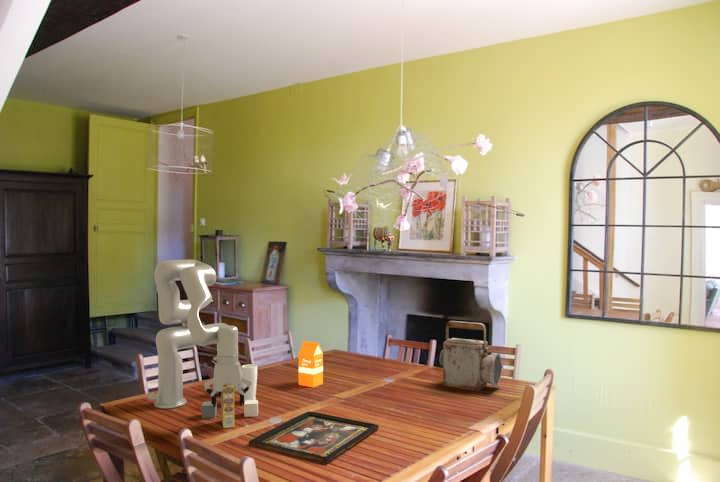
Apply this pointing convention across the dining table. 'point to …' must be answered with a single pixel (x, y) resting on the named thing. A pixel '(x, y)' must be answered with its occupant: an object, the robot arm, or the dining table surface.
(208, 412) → the dark grey block
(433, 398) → the dining table surface
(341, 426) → the framed painting
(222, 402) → the candy box
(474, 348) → the lantern
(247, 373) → the drinking glass
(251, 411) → the off-white block
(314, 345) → the orange juice
